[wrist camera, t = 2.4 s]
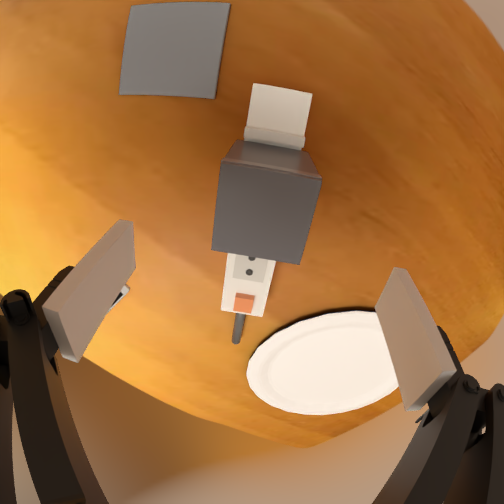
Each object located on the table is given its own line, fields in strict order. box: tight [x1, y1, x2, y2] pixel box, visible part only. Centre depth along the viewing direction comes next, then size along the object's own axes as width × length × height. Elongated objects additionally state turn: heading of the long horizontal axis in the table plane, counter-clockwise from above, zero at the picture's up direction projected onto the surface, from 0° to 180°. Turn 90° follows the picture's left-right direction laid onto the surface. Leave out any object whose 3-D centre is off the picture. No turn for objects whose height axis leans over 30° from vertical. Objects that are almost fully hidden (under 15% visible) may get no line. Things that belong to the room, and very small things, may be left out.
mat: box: [119, 2, 231, 99], centre depth 22 cm, size 10×10×1 cm
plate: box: [246, 310, 399, 415], centre depth 44 cm, size 29×29×2 cm
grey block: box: [211, 139, 322, 265], centre depth 22 cm, size 6×6×8 cm
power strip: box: [221, 83, 312, 344], centre depth 31 cm, size 33×5×5 cm, turn 171°
